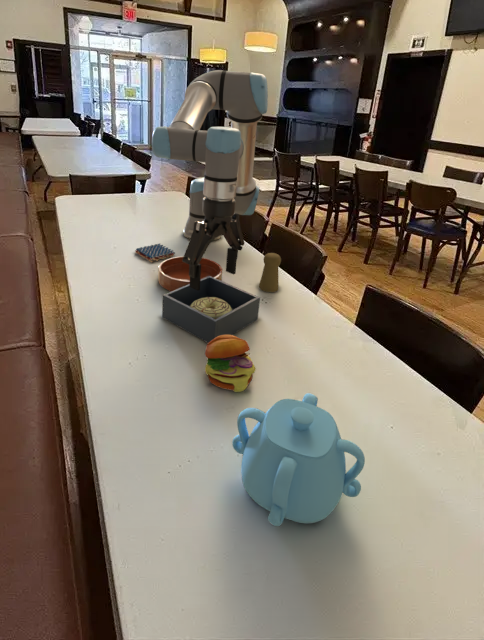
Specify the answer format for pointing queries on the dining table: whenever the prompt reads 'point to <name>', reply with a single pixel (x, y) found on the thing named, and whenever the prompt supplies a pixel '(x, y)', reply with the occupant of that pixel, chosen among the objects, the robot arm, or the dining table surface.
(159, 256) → the woven mat
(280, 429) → the decorative pot
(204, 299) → the decorated donut
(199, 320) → the bin
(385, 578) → the dining table surface
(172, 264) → the bowl
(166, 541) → the dining table surface
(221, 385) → the cheeseburger
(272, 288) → the brown pawn
